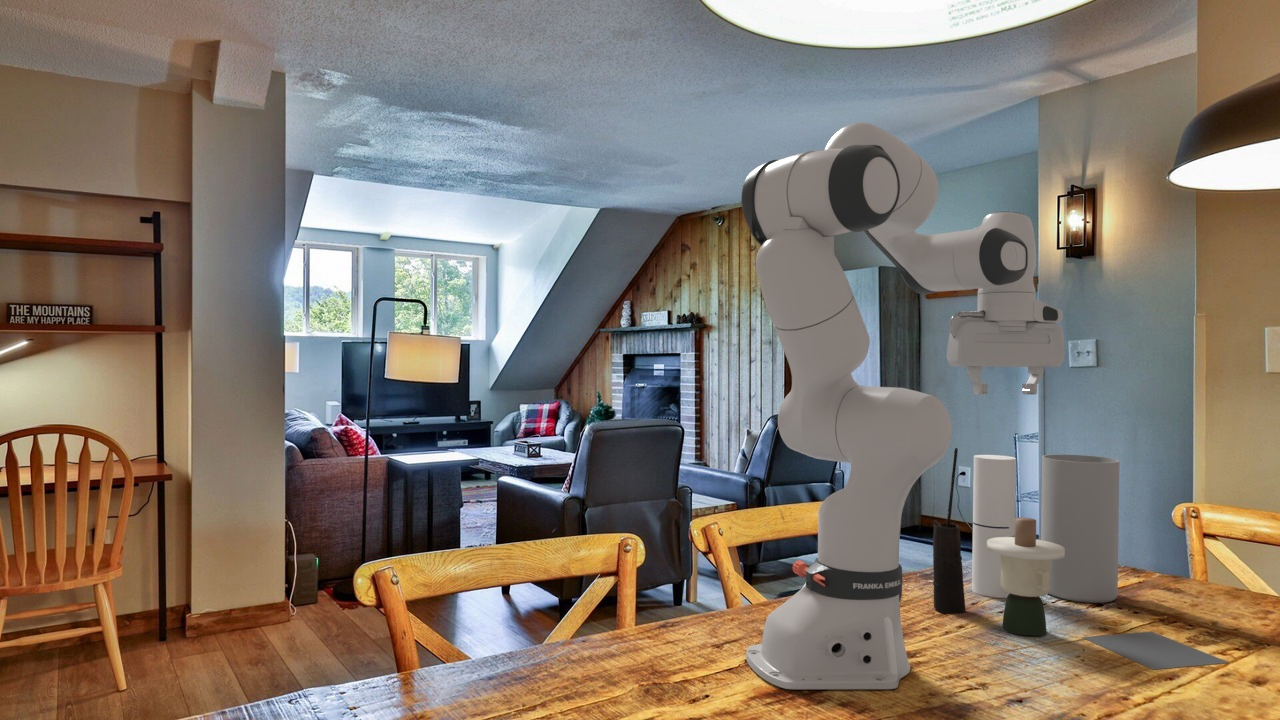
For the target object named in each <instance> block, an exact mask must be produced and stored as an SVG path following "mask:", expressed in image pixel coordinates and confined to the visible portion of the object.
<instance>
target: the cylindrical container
mask: <svg viewBox="0 0 1280 720" xmlns="http://www.w3.org/2000/svg"><path fill="white" fill-rule="evenodd" d="M1016 464H1017V457H1014V456H1009V455H998V454H975V455H973V477H972V478H973V485H972V486H973V489H972V492H973V493H972V501H973V502H972V508H973V509H972V551H971V552H972V553H971V554H972V556H971V557H972V558H971V559H972V564H971V568H972V569H971V572H972V573H971V574H972V575H971V576H972V577H971V591H972V592H973V593H975V594H978V595H979V596H983V597H988V598H999V599H1005V598H1007V596H1008V595H1009V594H1010V593H1008V592H1006V591H1004V590H1002V589H1001V555H1000V554H997V553H994V552H991V551H989V550H988V549H987V540H988V539H991V538H997V537H1015V518H1016V491H1017V490H1016V485H1017V482H1016V478H1017V477H1016V475H1017V465H1016Z"/></svg>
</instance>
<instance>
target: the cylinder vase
mask: <svg viewBox="0 0 1280 720" xmlns="http://www.w3.org/2000/svg"><path fill="white" fill-rule="evenodd" d="M1040 505H1041V510H1040V511H1041V514H1040V515H1041V518H1040V519H1041V520H1040V527H1041V528H1040V540H1043V541H1048V542H1052V543H1055V544H1058V545H1061V546H1062V547H1064V548H1065V556H1064V557H1063V558H1061V559H1056V560H1050V565H1051V572H1050V586H1051V589H1050V592H1049V593H1048V594H1047V595H1051V596H1053V597H1056V598H1058V599H1063V600H1068V601H1072V602H1079V603H1087V604H1088V603H1090V604H1101V603H1110V602H1112V601H1114V600H1115V599H1117V598H1118V594H1119V593H1118V590H1119V589H1118V588H1119V582H1118V581H1119V532H1120V531H1119V526H1120V525H1119V524H1120V522H1119V521H1120V515H1119V514H1120V460H1119V459H1116V458H1110V457H1105V456H1096V455H1083V454H1065V453H1063V454H1060V453H1058V454H1057V453H1055V454H1054V453H1053V454H1044V455H1042V456H1041V504H1040Z"/></svg>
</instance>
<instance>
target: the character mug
mask: <svg viewBox="0 0 1280 720" xmlns="http://www.w3.org/2000/svg"><path fill="white" fill-rule="evenodd" d="M1050 572H1051V565H1050V560H1030V559H1021V558H1014V557H1009V556H1004V555H1001V589H1002V590H1004V591H1006V592H1008V593H1010V594H1009V595H1008V596H1007V598H1006V599H1005V603H1004V610H1003V615H1002V616H1003V617H1002V625H1001V627H1002V628H1003V630H1004V631H1005V632H1007V633H1009V634H1013V635H1014V634H1015V635H1020V636H1021V635H1022V636H1023V635H1024V636H1041V637H1045V636H1046V635H1048V631H1047V620H1046V613H1045V605H1044V601H1043V600H1042V598H1041V597H1045V596H1047V595H1049V594H1048V593H1049V592H1050V589H1051V586H1050Z"/></svg>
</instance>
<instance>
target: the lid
mask: <svg viewBox="0 0 1280 720" xmlns="http://www.w3.org/2000/svg"><path fill="white" fill-rule="evenodd" d="M1014 536H1015V537H997V538H991V539H988V540H987V549H988V550H989V551H991V552H994V553H997V554H1000V555H1004V556H1009V557H1014V558H1021V559H1030V560H1056V559H1061V558H1063V557H1064V556H1065V548H1064V547H1062V546H1061V545H1058V544H1055V543H1052V542H1048V541H1043V540H1041V539H1038V538H1037V520H1036V519H1034V518H1031V517H1019V516H1018V517H1015V535H1014Z"/></svg>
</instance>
